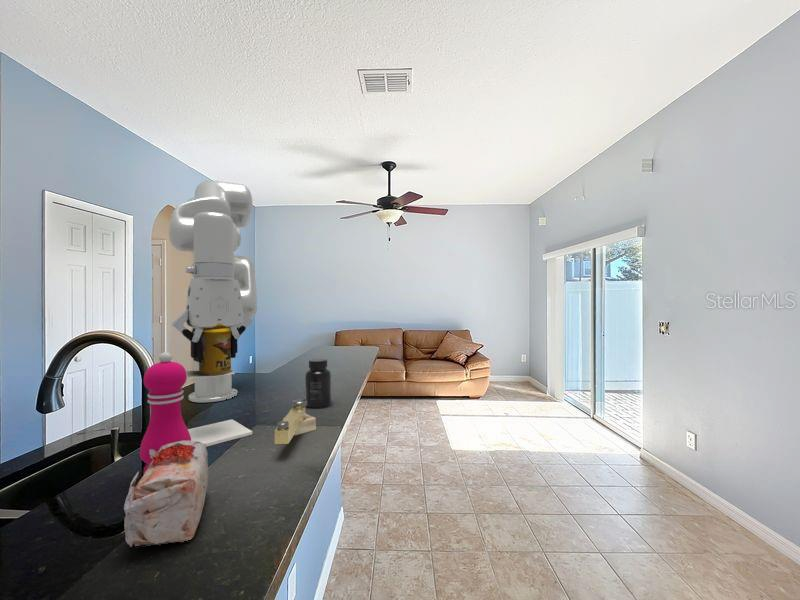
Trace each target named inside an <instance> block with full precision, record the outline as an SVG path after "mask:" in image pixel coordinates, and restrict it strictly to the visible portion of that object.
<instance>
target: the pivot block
mask: <svg viewBox="0 0 800 600" xmlns="http://www.w3.org/2000/svg"><path fill="white" fill-rule="evenodd" d="M316 430H317V418H316V417H315V416H313V415H310V414H308V413H305V418H304V419H303V421H302V423H301V424H300V426H299V427H298V429H297V431H296V432H295V434H294V435H293V436H299V435H302V434H306V433H309V432H312V431H316Z"/></svg>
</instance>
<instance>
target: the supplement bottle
mask: <svg viewBox="0 0 800 600" xmlns="http://www.w3.org/2000/svg"><path fill="white" fill-rule="evenodd" d="M327 367H328V359H325V358H313V359H309V360H308V368H309V369H308V370H306V372H305V374H304V393H305V394H304V396H305V398H304V399H305V400H307V406H308V408H309V407H313V408H312V409H322V408H326V407H330V406H331V404H332V373H331V370H329V369H328V368H327ZM307 406H306V407H307Z"/></svg>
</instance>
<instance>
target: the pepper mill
mask: <svg viewBox="0 0 800 600" xmlns="http://www.w3.org/2000/svg"><path fill="white" fill-rule="evenodd" d="M172 359H173V356H172V354H171V353H170V352H166V351H165V352H162V353H160V354H159V356H158V360H159V362H156V363H154V364H152V365H150V366H149V367H148V368H147V369H146V371H145V373H144V375H143V385H144V387H145V389H147V390H148V392H149V393H148V394H147V398H148V399H147V403H148V404H149V405H150V419H149V421H148V425H147V429H146V431H145V434H144V435H143V437H142V439H141V443H140V447H139V457H140V460H142V462H144V463H145V464H146V465H145V466H144V467H143V474H144V473H145V471H146V470H147V468H148V467H149V465H150V463H151V462H152V458H150V456H151V455H150V454H149V452H150V449H154V451H159V449H160V448H161V447H162V446H164V445H166V444H169V443H174V442H178V441H191V436H190V433H189V431H188V429H189V428H188V427H187V426H186V424H185V421H184V418H183V416H182V411H181V410H182V409H181V401H182V400H183V399H184V398H185V397H184V396H185V395H184V394H183V393H184V390H183V389H182V387H183V386H185V384H186V382H187V379H188V376H187V372H186V371H187V370H186V368H185V367H184V366H183V365H182V364H181V363H178V362H176V361H171V360H172ZM151 451H152V450H151ZM152 457H153V456H152Z"/></svg>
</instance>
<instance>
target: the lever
mask: <svg viewBox="0 0 800 600" xmlns="http://www.w3.org/2000/svg"><path fill="white" fill-rule="evenodd" d="M291 407H292V408H291V409H290V410H289V412H288V413H287V414H286V415H285V417H283V419H282V421H278V422H276V428H275V429H274V445H287V444H288V445H289V443H290V442H291V440H292V439H293V438H294V436H295V435H294V434H295V432H296V431H297V429H298V427H299V426H300V424H301V423H302V421H303V419H304V418H305V414H306V407H307V400H305V398H298V399H293V400H292V401H291Z"/></svg>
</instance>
